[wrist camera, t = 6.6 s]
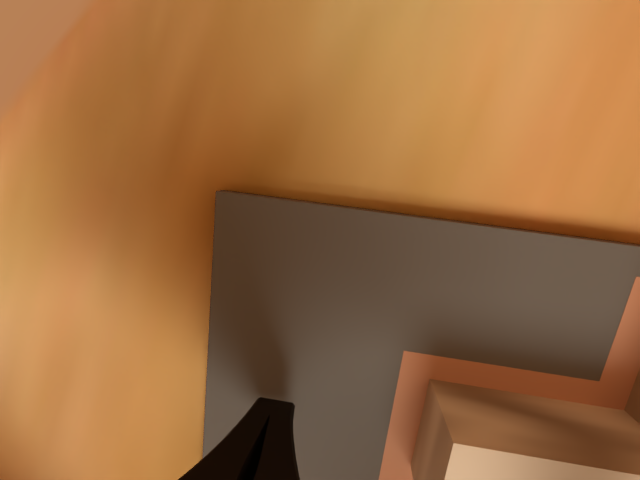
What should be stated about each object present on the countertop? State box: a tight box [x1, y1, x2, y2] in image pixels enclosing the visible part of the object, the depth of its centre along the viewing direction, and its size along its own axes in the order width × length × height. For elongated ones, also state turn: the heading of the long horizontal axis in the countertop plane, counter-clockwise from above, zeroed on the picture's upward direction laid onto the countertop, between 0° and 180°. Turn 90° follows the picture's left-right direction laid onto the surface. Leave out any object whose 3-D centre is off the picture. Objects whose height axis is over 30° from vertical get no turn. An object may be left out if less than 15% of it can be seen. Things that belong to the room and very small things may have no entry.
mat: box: [203, 190, 640, 480], centre depth 13 cm, size 21×16×1 cm
